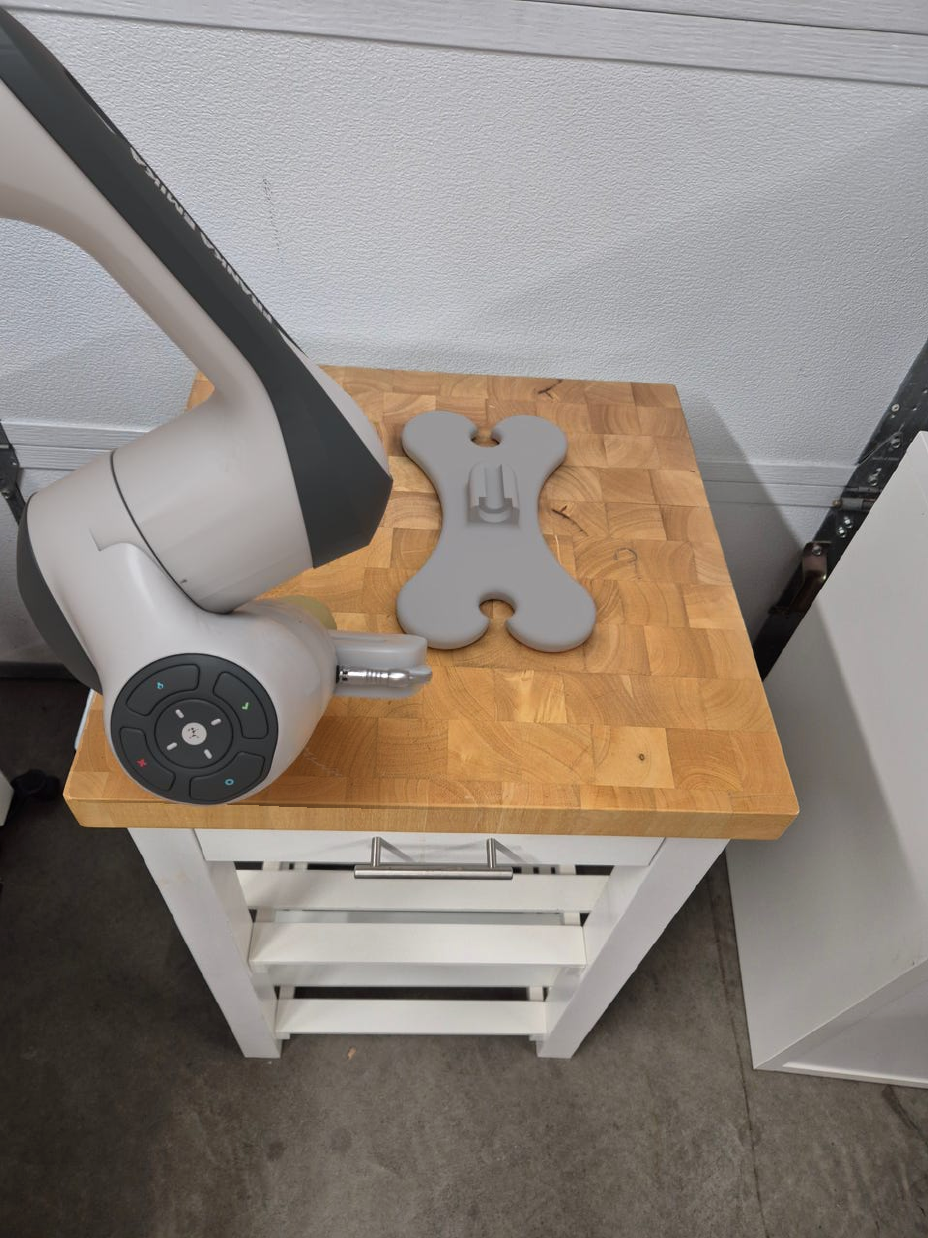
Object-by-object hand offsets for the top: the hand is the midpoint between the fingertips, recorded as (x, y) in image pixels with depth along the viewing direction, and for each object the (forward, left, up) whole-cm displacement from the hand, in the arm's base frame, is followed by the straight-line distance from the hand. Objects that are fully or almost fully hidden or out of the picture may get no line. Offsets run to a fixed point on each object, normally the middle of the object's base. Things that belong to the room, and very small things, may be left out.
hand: (297, 642), depth 64 cm
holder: (+16, +23, -9) cm, 30 cm away
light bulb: (0, -1, -6) cm, 6 cm away
